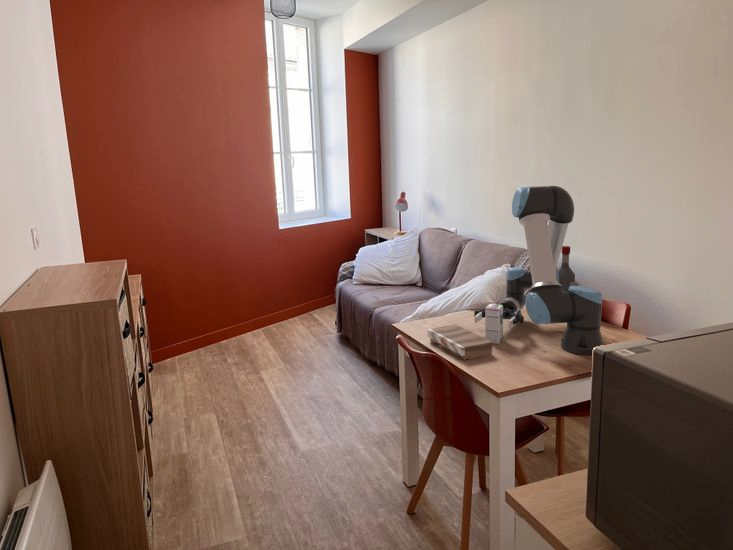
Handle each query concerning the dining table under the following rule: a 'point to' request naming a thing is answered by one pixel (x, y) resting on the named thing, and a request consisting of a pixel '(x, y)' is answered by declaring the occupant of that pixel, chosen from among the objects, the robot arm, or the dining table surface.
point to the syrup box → (494, 323)
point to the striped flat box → (461, 341)
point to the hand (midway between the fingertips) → (492, 322)
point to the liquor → (566, 270)
